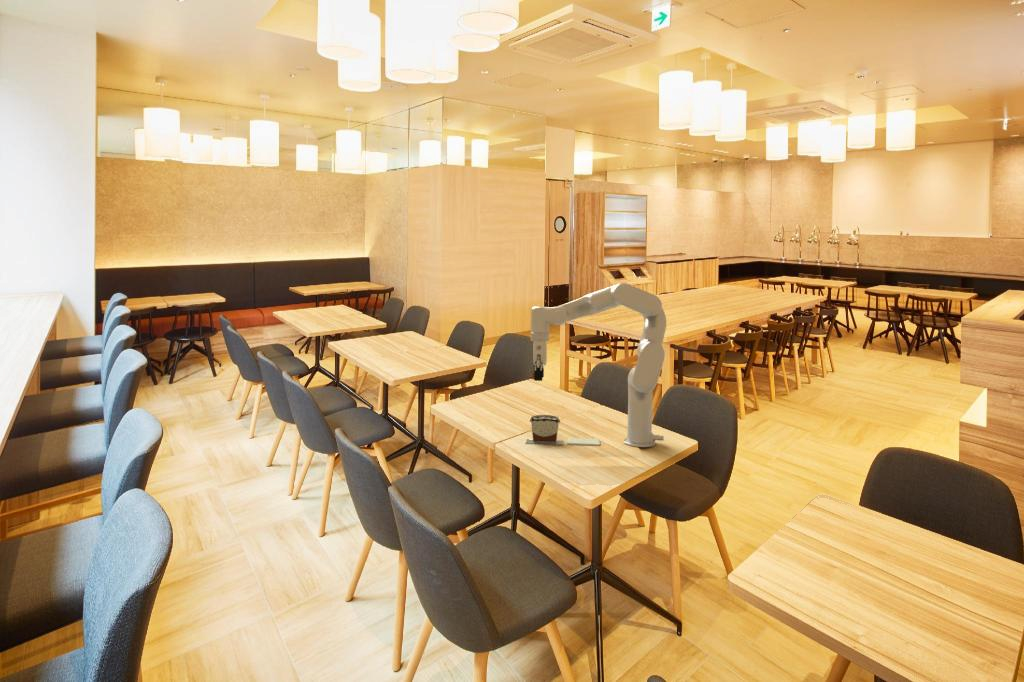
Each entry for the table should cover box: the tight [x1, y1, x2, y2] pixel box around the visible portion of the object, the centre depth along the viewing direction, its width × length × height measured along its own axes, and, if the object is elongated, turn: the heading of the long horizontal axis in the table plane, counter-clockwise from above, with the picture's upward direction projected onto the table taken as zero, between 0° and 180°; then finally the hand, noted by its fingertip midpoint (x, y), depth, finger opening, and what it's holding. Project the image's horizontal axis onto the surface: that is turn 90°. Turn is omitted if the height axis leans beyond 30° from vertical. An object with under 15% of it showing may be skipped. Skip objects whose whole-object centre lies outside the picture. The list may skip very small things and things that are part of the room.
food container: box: [529, 414, 561, 443], centre depth 225 cm, size 12×6×10 cm, turn 84°
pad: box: [566, 437, 601, 447], centre depth 225 cm, size 13×11×1 cm
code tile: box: [525, 438, 564, 446], centre depth 225 cm, size 15×11×1 cm
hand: (539, 379), depth 224 cm, fingers open, 9 cm apart
